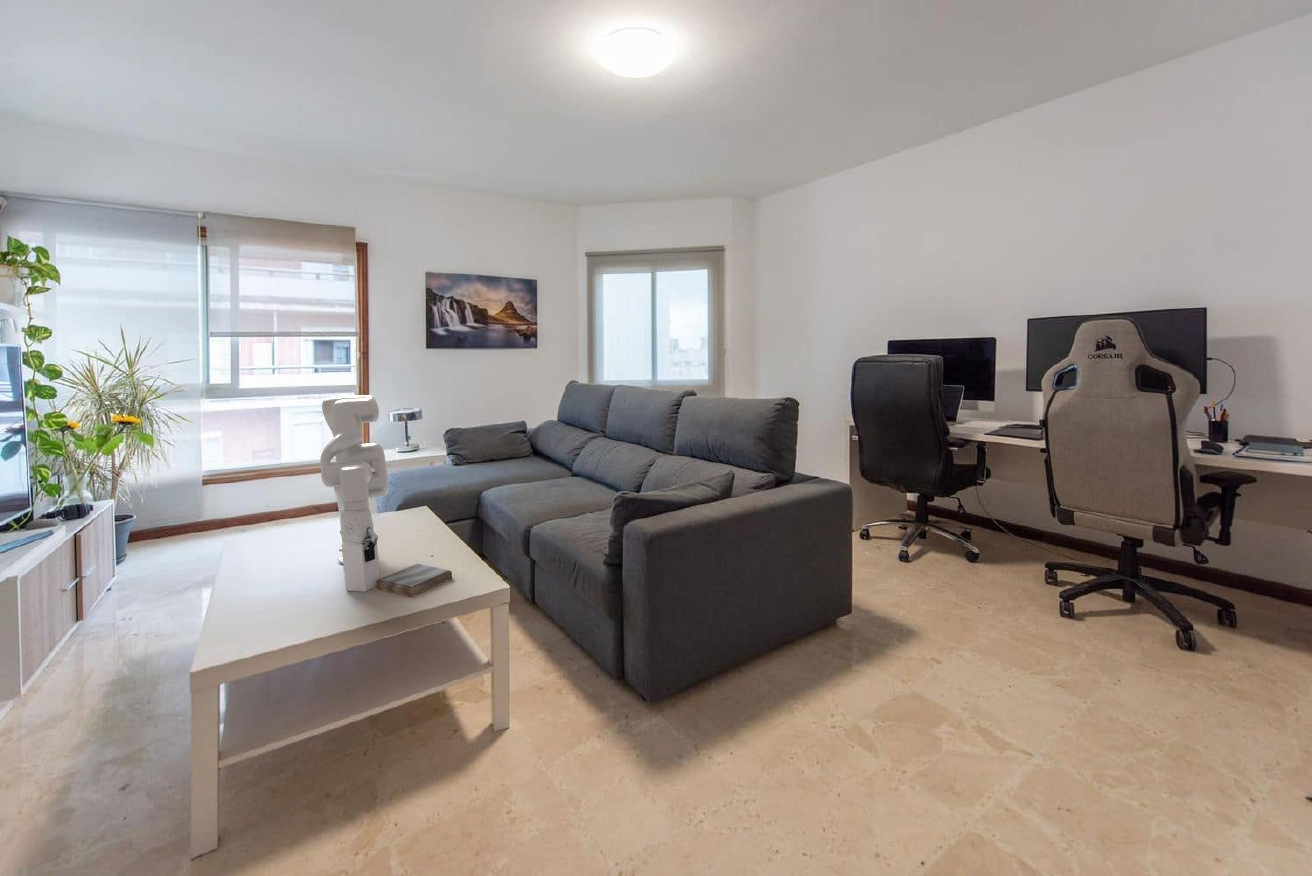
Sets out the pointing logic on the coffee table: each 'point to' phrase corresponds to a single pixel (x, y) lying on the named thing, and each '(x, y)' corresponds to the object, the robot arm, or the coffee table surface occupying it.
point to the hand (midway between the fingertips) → (360, 558)
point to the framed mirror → (414, 580)
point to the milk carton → (359, 567)
